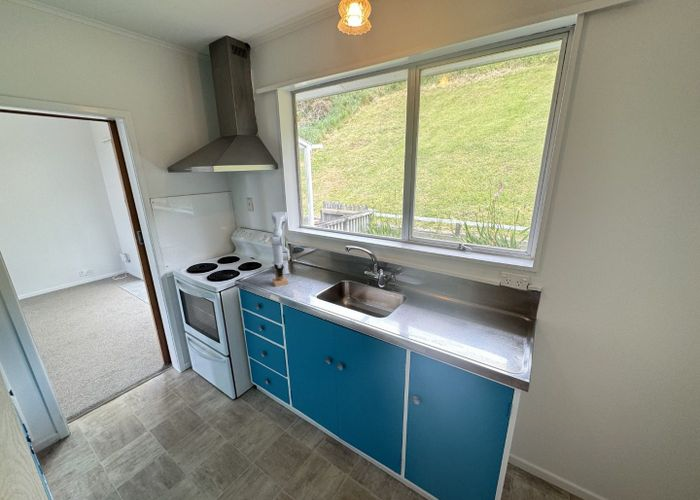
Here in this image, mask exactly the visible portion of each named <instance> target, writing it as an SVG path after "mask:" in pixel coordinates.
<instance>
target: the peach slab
mask: <svg viewBox="0 0 700 500" xmlns="http://www.w3.org/2000/svg"><path fill="white" fill-rule="evenodd" d="M271 279H272V284H273V285H274V286H275V287H276V286H277V287H281V286H286V285H289V282H288V281H289V280H288V279H287V278H286V277H285V276H283V279H276V277H275V278H271Z"/></svg>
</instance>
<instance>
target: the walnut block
mask: <svg viewBox="0 0 700 500" xmlns="http://www.w3.org/2000/svg"><path fill="white" fill-rule="evenodd" d="M274 273H275V274H274V275H275V278H276V279H283V277H284V274H283V271H282V277H278V274H277V271H276V269H274Z"/></svg>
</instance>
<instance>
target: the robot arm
mask: <svg viewBox="0 0 700 500" xmlns="http://www.w3.org/2000/svg"><path fill="white" fill-rule="evenodd" d="M271 220H272V222H273V224H274V225H275V228H273V231H272V232H273V233H272V237H271V240H270V242H271V247H272V250H273V251H272V252H273V253H272V254H273V261H272V262H271V263H272V265H274V268H275V269H274V270H276V271H277V274H278V277H282V271H283V275H288V274H290V270H289V260H290V258H291V257H290V249H288V248H287V247H286V239H285V225H286V224H287V223H288V212H287V211H272V213H271Z"/></svg>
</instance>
